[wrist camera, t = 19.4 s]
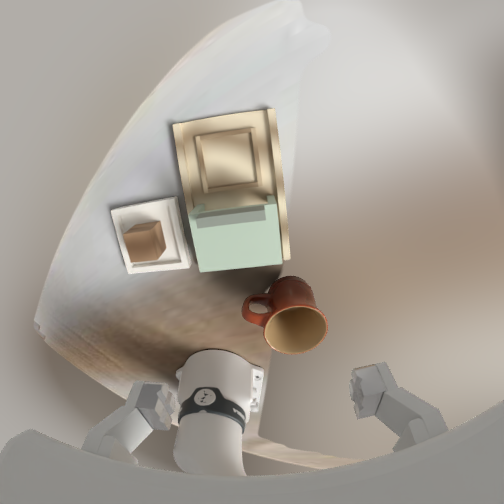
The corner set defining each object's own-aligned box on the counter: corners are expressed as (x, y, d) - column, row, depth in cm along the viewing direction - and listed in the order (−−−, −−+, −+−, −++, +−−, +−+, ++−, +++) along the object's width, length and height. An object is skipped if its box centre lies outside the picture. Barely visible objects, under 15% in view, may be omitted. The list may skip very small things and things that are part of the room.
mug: (322, 276, 43) (338, 312, 34) (303, 318, 47) (312, 358, 37) (251, 257, 42) (250, 292, 33) (237, 303, 46) (233, 343, 36)
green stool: (279, 247, 41) (284, 272, 33) (207, 255, 41) (196, 281, 34) (273, 194, 38) (278, 208, 30) (197, 204, 38) (183, 220, 31)
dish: (191, 263, 43) (189, 267, 41) (132, 269, 43) (128, 273, 42) (177, 196, 39) (174, 198, 37) (115, 208, 39) (110, 210, 38)
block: (166, 248, 41) (157, 260, 37) (141, 251, 41) (130, 262, 37) (160, 220, 39) (149, 230, 35) (134, 224, 40) (122, 234, 36)
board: (289, 255, 42) (290, 259, 41) (200, 265, 43) (199, 269, 42) (274, 109, 34) (274, 108, 32) (175, 125, 34) (172, 124, 33)
